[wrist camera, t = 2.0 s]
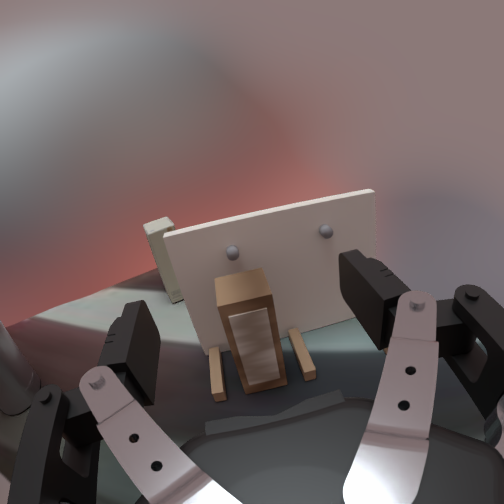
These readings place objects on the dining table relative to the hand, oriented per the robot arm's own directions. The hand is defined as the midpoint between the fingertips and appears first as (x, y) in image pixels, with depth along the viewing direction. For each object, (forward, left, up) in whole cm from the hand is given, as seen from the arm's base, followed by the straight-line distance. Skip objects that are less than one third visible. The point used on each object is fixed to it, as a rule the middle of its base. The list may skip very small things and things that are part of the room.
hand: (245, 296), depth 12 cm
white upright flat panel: (+5, +14, -19) cm, 24 cm away
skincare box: (-10, +34, -19) cm, 40 cm away
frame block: (0, +12, -19) cm, 23 cm away
